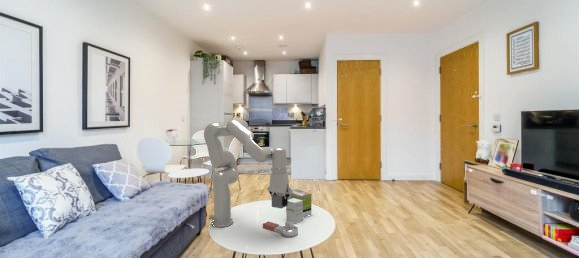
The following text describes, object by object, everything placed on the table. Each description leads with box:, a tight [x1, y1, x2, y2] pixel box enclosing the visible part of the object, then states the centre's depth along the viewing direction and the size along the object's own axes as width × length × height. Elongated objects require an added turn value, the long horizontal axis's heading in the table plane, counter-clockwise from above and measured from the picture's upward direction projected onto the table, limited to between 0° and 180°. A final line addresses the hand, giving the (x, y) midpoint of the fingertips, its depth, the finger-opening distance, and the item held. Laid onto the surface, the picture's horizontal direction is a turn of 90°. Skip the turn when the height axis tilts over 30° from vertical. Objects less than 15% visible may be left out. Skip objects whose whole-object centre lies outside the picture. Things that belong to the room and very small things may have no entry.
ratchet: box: [262, 220, 299, 239], centre depth 145 cm, size 22×9×6 cm, turn 54°
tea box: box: [285, 188, 312, 218], centre depth 172 cm, size 15×10×15 cm, turn 38°
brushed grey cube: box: [271, 193, 288, 209], centre depth 140 cm, size 6×6×6 cm
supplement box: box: [285, 198, 304, 224], centre depth 160 cm, size 7×7×13 cm
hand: (279, 204), depth 140 cm, fingers closed on brushed grey cube, 6 cm apart
